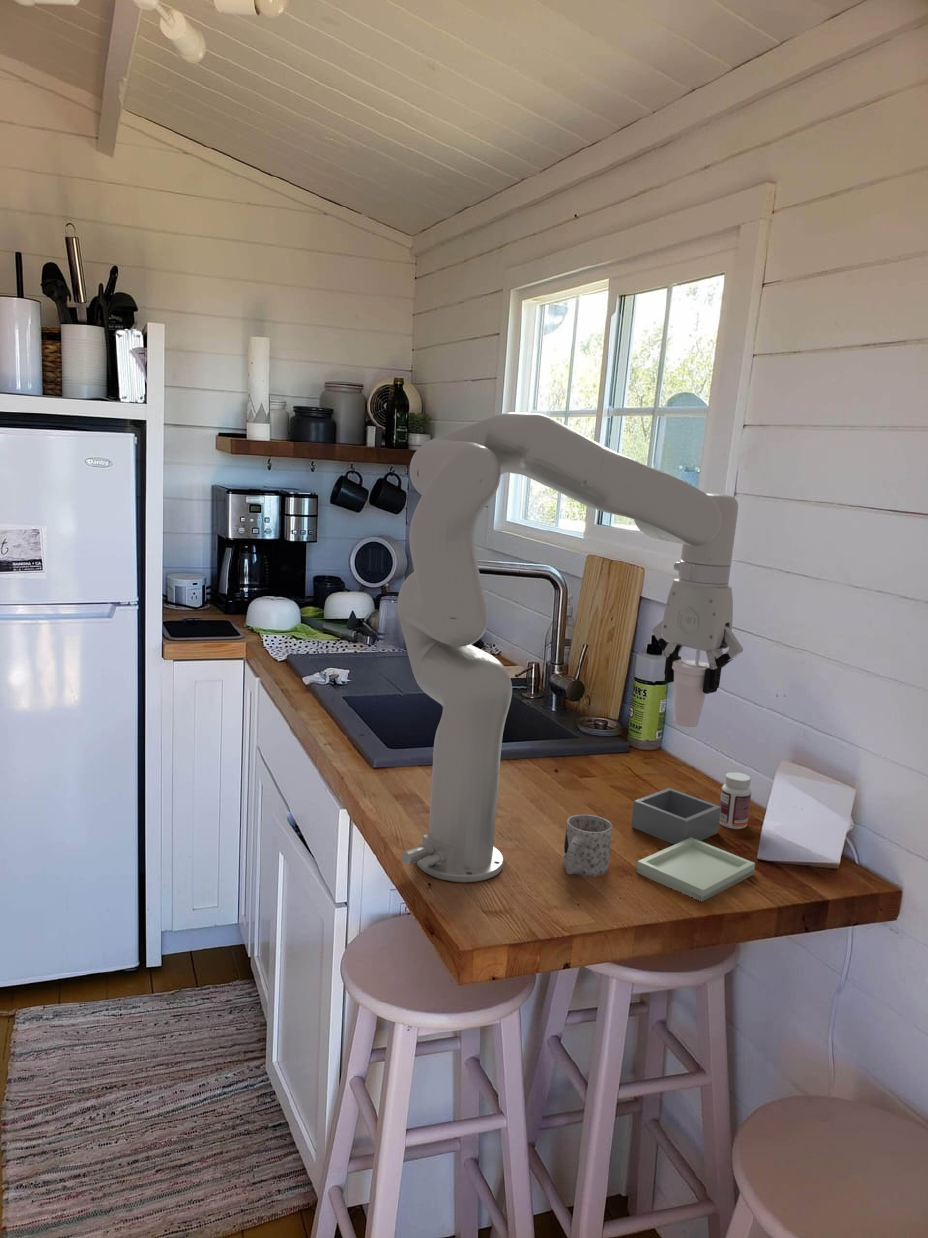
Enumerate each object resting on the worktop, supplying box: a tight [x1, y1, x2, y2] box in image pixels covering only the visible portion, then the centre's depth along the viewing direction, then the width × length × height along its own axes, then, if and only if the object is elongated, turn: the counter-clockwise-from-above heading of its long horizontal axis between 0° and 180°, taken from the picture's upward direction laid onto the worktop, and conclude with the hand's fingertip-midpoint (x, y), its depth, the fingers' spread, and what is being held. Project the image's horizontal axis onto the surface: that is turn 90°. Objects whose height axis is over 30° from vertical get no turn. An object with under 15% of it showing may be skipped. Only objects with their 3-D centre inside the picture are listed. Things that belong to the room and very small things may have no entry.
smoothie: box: [672, 649, 709, 728], centre depth 151 cm, size 6×6×14 cm
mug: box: [562, 814, 613, 877], centre depth 139 cm, size 10×7×7 cm, turn 150°
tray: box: [636, 837, 756, 903], centre depth 141 cm, size 14×11×2 cm
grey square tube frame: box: [630, 787, 721, 845], centre depth 156 cm, size 10×10×4 cm
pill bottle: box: [719, 772, 752, 830], centre depth 159 cm, size 5×5×8 cm
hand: (690, 685), depth 151 cm, fingers closed on smoothie, 6 cm apart
